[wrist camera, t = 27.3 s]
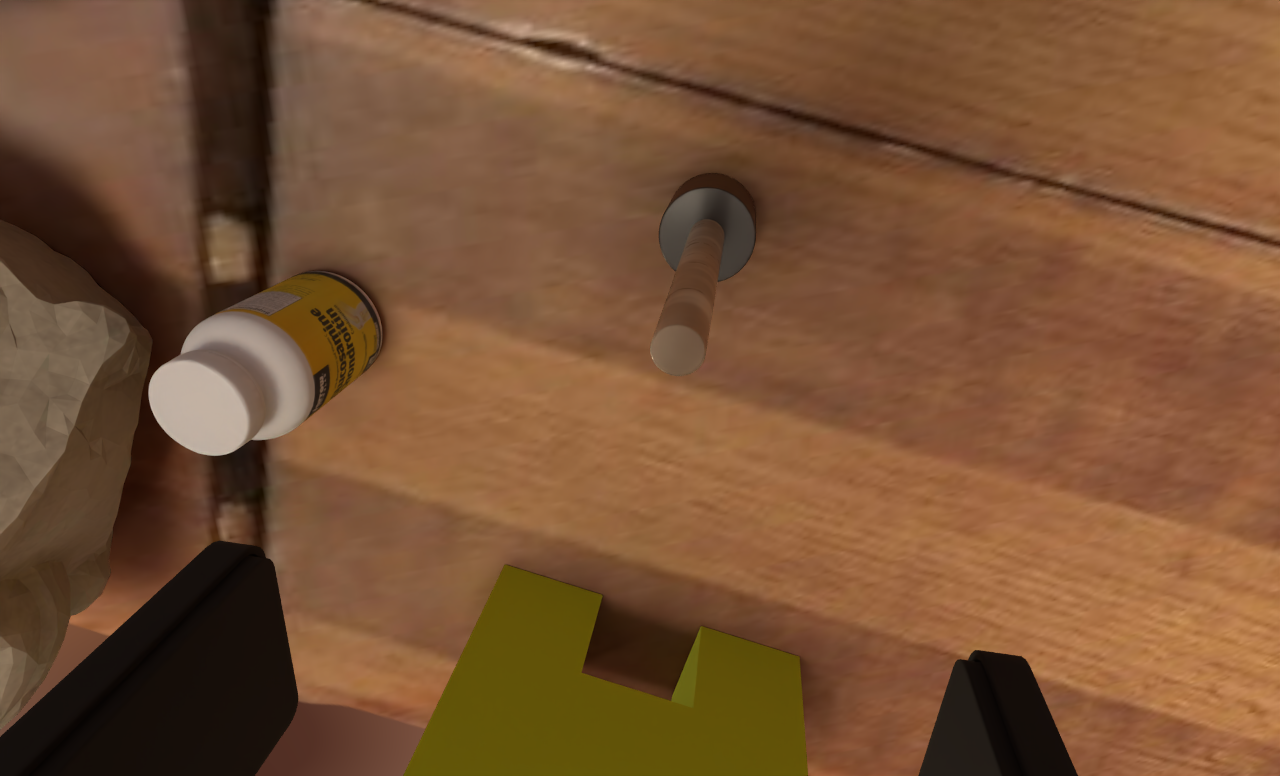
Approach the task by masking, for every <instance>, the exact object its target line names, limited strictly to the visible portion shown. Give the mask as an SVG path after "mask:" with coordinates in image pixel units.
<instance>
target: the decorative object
mask: <svg viewBox="0 0 1280 776" xmlns="http://www.w3.org/2000/svg"><path fill="white" fill-rule="evenodd" d="M602 596H603V595H601V594H598V593H595V592H591V591H588V590H585V589H582V588H579V587H575V586H572V585H569V584H566V583H563V582H559V581H556V580H553V579H550V578H547V577H543V576H540V575H537V574H534V573H531V572H528V571H524V570H521V569H518V568H515V567H512V566H508V565H504V567H503V569H502V571H501V573H500V576H499V578H498V580H497V582H496V584H495V586H494V588H493V590H492V592H491V594H490V596H489V598H488V600H487V603H486V605H485V607H484V609H483V611H482V613H481V615H480V617H479V619H478V621H477V623H476V625H475V627H474V630H473V632H472V634H471V636H470V638H469V640H468V642H467V644H466V646H465V648H464V650H463V652H462V654H461V657H460V659H459V661H458V663H457V665H456V667H455V669H454V671H453V673H452V675H451V677H450V679H449V682H448V684H447V686H446V688H445V690H444V692H443V694H442V696H441V698H440V700H439V702H438V704H437V706H436V709H435V711H434V713H433V715H432V717H431V719H430V721H429V723H428V725H427V727H426V729H425V731H424V733H423V736H422V738H421V740H420V742H419V744H418V746H417V748H416V750H415V752H414V754H413V757H412V758H411V761H410V763H409V765H408V767H407V769H406V771H405V773H404V775H403V776H808V768H807V754H806V741H805V727H804V713H803V699H802V685H801V671H800V657H799V656H796V655H792V654H789V653H786V652H783V651H780V650H776V649H773V648H770V647H767V646H764V645H760V644H757V643H754V642H751V641H748V640H745V639H741V638H738V637H735V636H732V635H729V634H725V633H722V632H719V631H716V630H713V629H709V628H706V627H703V626H701V627H700V629H699V632H698V634H697V637H696V639H695V642H694V644H693V646H692V649H691V651H690V654H689V656H688V659H687V661H686V663H685V666H684V668H683V671H682V673H681V676H680V678H679V680H678V683H677V685H676V688H675V690H674V693H673V695H672V701H669V700H666V699H663V698H660V697H657V696H653V695H650V694H647V693H644V692H641V691H638V690H634V689H631V688H628V687H625V686H622V685H619V684H615V683H612V682H609V681H606V680H603V679H599V678H596V677H593V676H590V675H587V674H584V673H581V672H582V668H583V665H584V661H585V657H586V654H587V650H588V647H589V643H590V639H591V636H592V632H593V629H594V625H595V621H596V618H597V614H598V610H599V607H600V603H601V600H602Z"/></svg>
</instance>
